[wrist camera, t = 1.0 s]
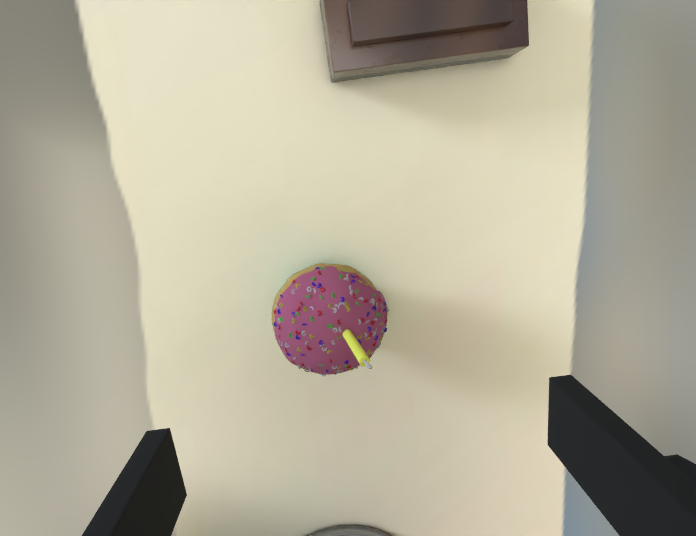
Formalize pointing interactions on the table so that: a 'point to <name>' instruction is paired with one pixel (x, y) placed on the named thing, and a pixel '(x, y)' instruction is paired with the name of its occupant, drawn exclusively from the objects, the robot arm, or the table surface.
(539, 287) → the table surface
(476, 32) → the brown rectangular panel
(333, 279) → the cupcake
